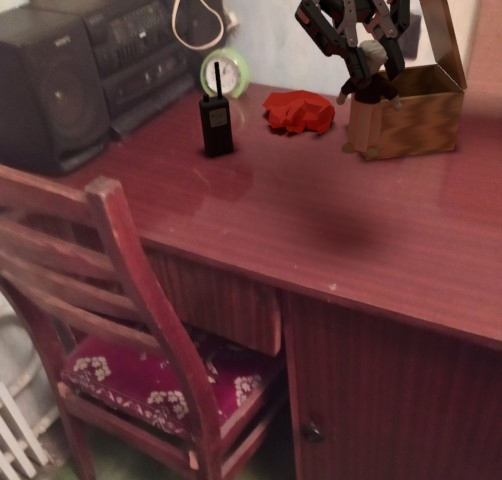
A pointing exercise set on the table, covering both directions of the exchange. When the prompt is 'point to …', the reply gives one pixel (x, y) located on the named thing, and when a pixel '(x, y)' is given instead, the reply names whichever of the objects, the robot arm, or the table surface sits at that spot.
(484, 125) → the table surface
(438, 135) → the chest
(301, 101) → the crumpled red cloth
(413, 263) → the table surface
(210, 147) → the walkie-talkie
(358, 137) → the grandmother figurine
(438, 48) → the lid
